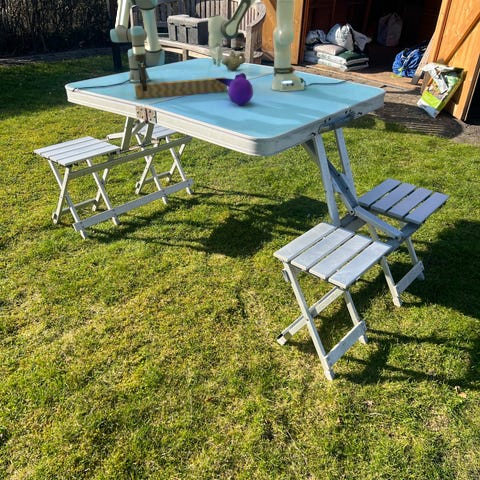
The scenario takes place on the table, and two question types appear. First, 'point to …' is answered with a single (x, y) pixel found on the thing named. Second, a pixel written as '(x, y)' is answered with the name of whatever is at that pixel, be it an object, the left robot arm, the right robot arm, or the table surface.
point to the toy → (238, 89)
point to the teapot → (233, 61)
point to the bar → (179, 88)
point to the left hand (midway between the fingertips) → (143, 89)
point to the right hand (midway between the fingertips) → (216, 65)
